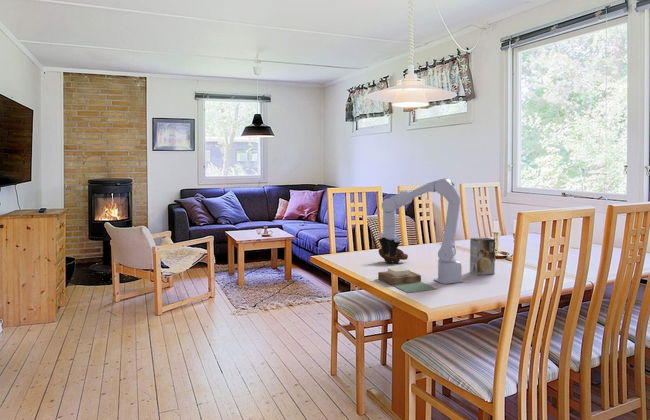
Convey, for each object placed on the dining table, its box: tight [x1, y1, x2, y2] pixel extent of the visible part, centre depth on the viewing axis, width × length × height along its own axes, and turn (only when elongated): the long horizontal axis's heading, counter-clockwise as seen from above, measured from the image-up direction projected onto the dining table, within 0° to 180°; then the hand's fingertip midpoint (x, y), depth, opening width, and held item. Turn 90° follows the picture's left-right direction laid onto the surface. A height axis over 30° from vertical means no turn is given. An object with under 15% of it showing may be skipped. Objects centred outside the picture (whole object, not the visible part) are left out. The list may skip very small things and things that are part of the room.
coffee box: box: [469, 237, 496, 276], centre depth 214 cm, size 9×6×16 cm
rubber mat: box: [391, 281, 438, 294], centre depth 191 cm, size 14×12×1 cm
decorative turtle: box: [378, 247, 409, 265], centre depth 238 cm, size 10×15×8 cm, turn 99°
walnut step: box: [377, 270, 422, 286], centre depth 201 cm, size 14×12×3 cm
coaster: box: [387, 266, 411, 276], centre depth 202 cm, size 7×7×2 cm
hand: (389, 255), depth 209 cm, fingers open, 5 cm apart
